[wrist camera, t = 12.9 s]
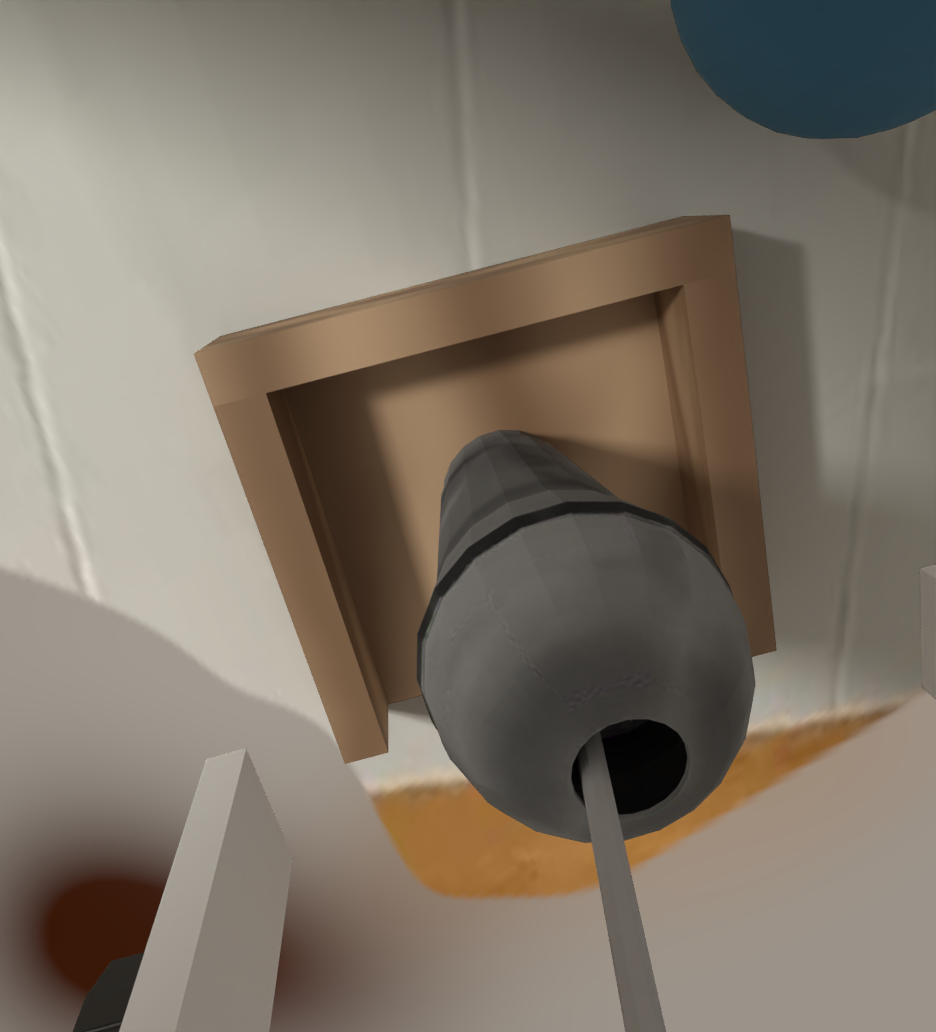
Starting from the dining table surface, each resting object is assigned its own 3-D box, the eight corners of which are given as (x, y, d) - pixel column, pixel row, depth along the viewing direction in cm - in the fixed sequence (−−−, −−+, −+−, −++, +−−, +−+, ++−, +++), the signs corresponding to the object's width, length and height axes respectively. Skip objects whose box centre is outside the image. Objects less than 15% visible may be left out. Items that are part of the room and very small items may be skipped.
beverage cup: (633, 531, 29) (1073, 1078, 10) (457, 613, 30) (577, 1275, 11) (559, 354, 26) (970, 659, 8) (368, 446, 27) (325, 941, 8)
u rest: (349, 702, 31) (344, 763, 28) (220, 336, 26) (193, 353, 22) (732, 602, 32) (776, 650, 28) (683, 216, 26) (729, 214, 23)
